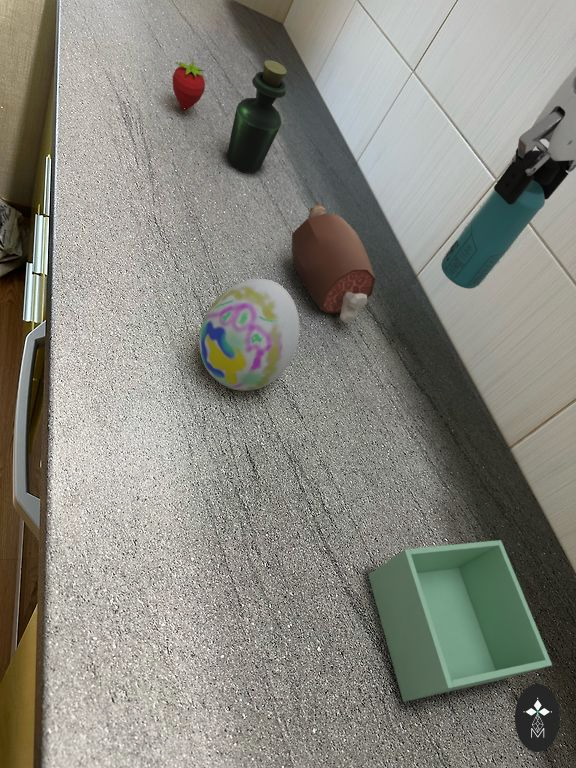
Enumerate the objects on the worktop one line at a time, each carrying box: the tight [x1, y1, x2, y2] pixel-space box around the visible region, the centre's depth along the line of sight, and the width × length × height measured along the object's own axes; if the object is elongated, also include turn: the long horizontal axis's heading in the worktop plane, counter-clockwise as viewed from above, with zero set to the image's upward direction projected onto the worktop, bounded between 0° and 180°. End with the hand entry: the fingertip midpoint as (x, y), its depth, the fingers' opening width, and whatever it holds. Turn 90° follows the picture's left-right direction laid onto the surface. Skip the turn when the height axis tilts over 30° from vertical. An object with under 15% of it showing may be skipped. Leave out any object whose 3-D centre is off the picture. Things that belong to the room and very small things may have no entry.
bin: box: [367, 539, 553, 703], centre depth 62 cm, size 13×13×8 cm
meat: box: [291, 204, 376, 324], centre depth 89 cm, size 20×12×10 cm, turn 21°
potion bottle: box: [226, 59, 288, 174], centre depth 99 cm, size 8×8×18 cm
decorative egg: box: [198, 278, 300, 392], centre depth 72 cm, size 12×12×15 cm
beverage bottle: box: [440, 149, 560, 290], centre depth 74 cm, size 6×7×20 cm
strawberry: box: [171, 56, 206, 112], centre depth 105 cm, size 6×8×10 cm
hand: (521, 193), depth 70 cm, fingers closed on beverage bottle, 6 cm apart
